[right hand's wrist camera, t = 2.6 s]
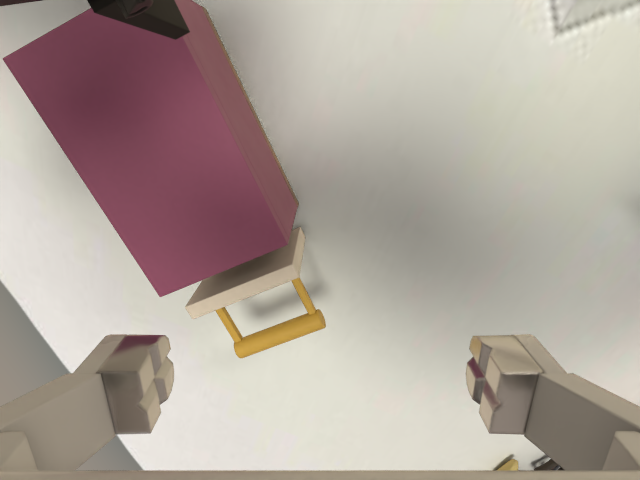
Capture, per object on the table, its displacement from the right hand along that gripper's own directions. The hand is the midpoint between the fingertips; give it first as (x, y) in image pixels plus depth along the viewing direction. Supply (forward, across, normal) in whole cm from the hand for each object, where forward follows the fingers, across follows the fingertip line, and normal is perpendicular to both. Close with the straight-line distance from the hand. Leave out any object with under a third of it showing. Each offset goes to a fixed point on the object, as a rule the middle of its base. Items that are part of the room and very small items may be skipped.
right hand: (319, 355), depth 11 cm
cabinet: (+27, +10, -3) cm, 29 cm away
